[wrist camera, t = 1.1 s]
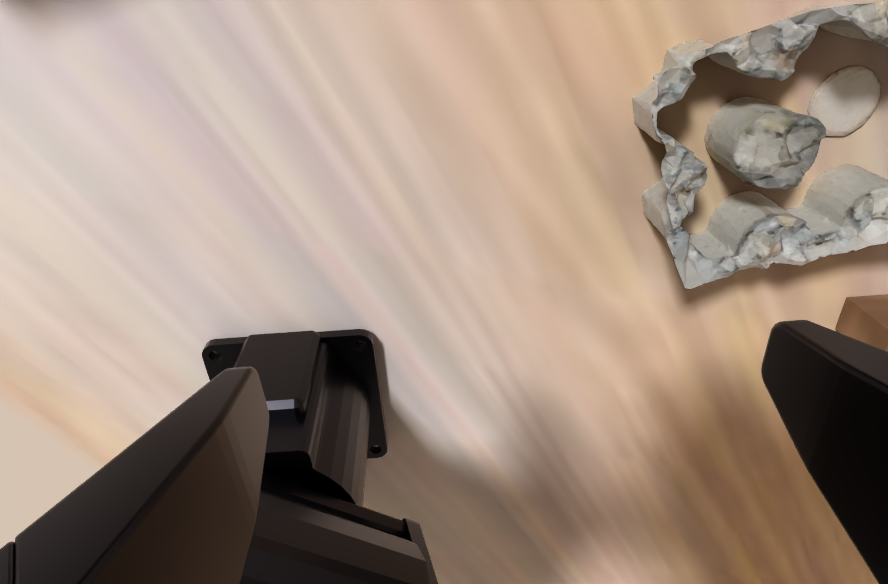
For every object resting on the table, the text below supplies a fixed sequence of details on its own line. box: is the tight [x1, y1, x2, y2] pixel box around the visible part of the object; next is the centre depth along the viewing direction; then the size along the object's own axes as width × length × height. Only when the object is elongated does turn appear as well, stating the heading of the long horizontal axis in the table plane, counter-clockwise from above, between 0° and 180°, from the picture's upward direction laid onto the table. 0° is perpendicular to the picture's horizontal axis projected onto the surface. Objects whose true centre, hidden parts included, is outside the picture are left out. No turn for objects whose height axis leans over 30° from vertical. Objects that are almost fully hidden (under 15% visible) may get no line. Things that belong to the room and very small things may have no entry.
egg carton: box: [633, 0, 888, 289], centre depth 18 cm, size 11×8×4 cm
